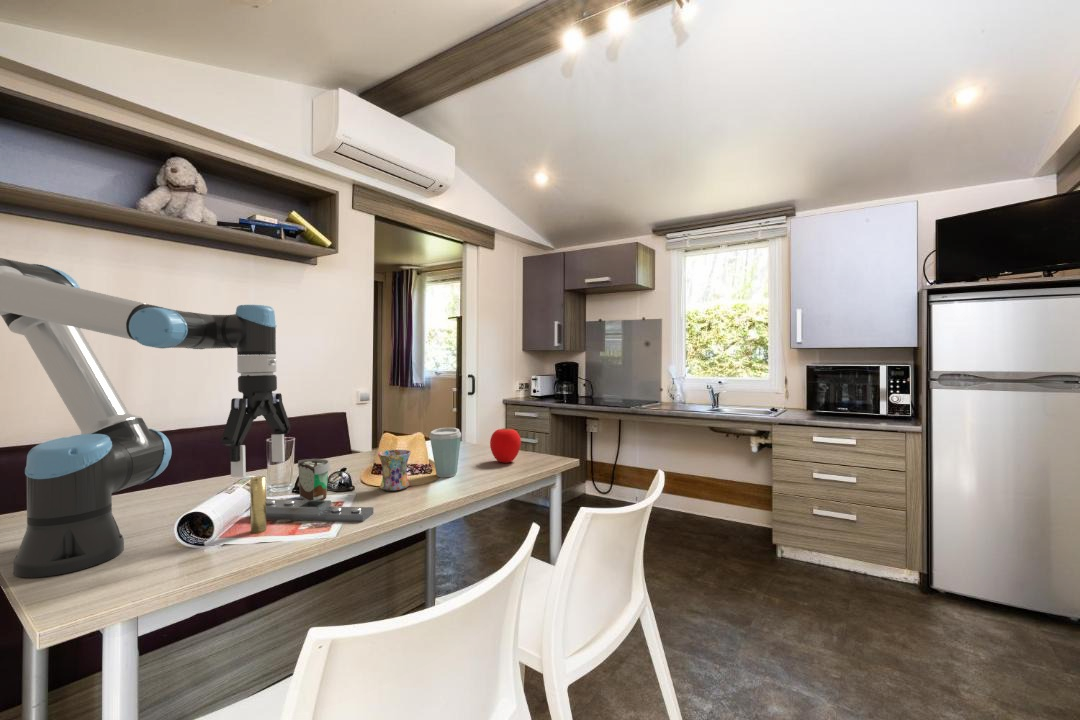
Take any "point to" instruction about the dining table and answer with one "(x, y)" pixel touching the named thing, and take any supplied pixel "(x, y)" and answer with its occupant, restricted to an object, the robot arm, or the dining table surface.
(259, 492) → the pin
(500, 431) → the red apple
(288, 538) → the dining table surface
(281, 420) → the robot arm
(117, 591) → the dining table surface
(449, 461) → the disposable coffee cup
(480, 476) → the dining table surface
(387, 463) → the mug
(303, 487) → the food container
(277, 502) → the grey studded plate
